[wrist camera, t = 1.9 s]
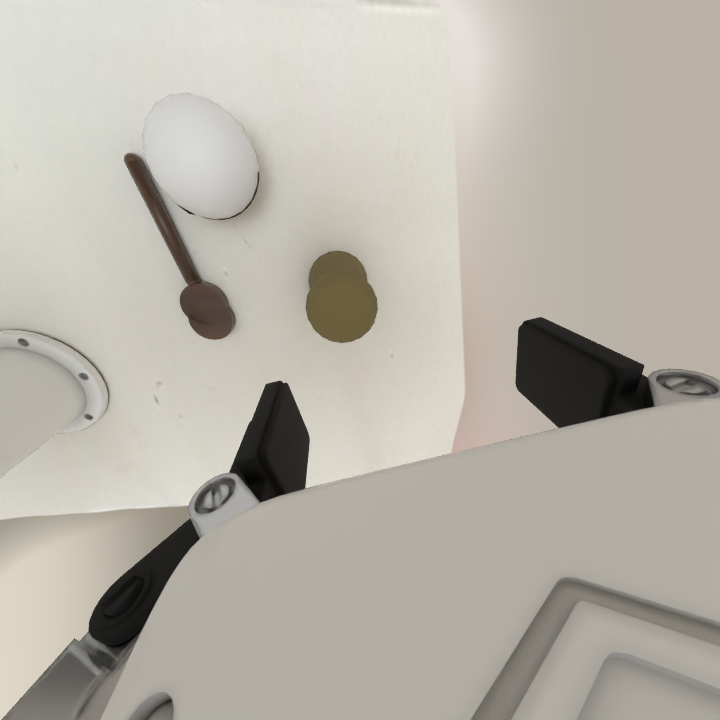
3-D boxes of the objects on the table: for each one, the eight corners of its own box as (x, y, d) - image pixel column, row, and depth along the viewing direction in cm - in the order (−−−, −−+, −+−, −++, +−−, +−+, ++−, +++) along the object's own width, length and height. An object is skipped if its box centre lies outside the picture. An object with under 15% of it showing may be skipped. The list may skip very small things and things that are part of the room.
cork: (318, 241, 26) (312, 253, 17) (376, 264, 28) (401, 287, 18) (301, 299, 29) (287, 340, 19) (355, 317, 30) (367, 364, 21)
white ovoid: (156, 125, 22) (82, 84, 15) (249, 105, 22) (215, 56, 15) (212, 258, 26) (173, 270, 20) (288, 241, 26) (274, 249, 20)
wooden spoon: (241, 330, 30) (238, 335, 29) (204, 340, 30) (199, 344, 29) (159, 148, 22) (150, 145, 21) (109, 161, 22) (98, 158, 21)
